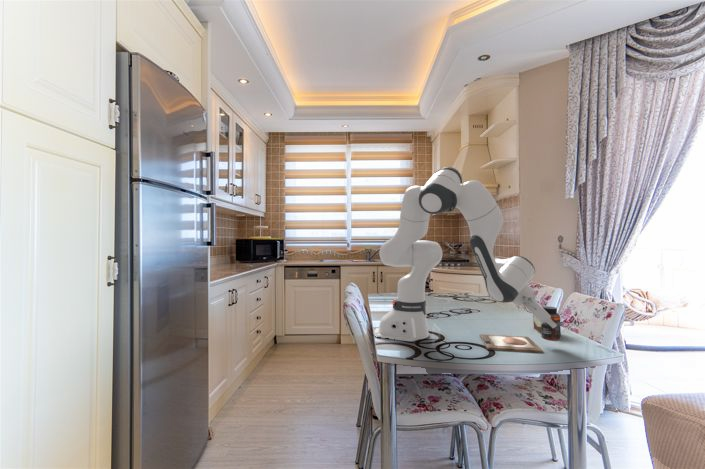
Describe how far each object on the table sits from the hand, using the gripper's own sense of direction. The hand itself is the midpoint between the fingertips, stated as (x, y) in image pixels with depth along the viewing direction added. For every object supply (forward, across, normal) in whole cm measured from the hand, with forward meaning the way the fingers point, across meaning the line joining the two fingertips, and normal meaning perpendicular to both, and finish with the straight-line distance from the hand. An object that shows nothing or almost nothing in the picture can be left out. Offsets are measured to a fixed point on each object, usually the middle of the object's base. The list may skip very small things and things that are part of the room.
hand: (552, 323), depth 115 cm
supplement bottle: (+4, 0, +4) cm, 6 cm away
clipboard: (-4, 0, +16) cm, 17 cm away
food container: (+8, +22, +5) cm, 24 cm away
